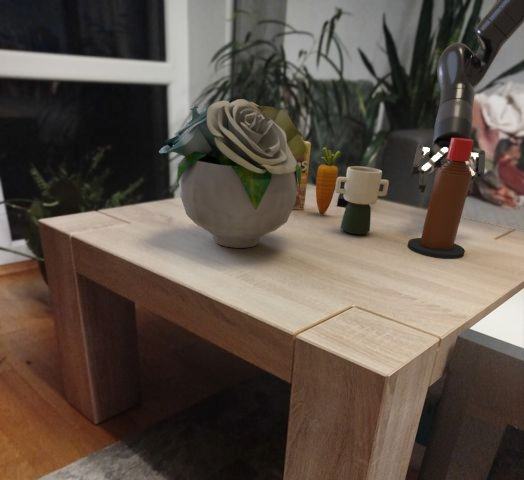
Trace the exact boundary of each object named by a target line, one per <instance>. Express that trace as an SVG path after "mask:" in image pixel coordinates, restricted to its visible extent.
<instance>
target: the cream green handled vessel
mask: <svg viewBox="0 0 524 480" xmlns="http://www.w3.org/2000/svg"><path fill="white" fill-rule="evenodd" d="M382 176H383V171H382V170H381V169H379V168H374V167H369V166H361V165H359V166H358V165H356V166H348V167H347V168H346V175H345V176H337V180H336V186H335V191H334V193H336V194H338V195H339V194H344V195H343V196H344V199H345V200H346V201H348V202H349V203H348V204H347V206H346V207H345V209H344V213H343V215H342V219H341V224H340V229H342V230H343V231H345V232H346V233H350V234H355V235H363V234H364V235H365V234H368V233H369V232H370V231H371V217H372V216H371V215H372V213H371V212H372V208H371V205H373V204H376V203H377V201H378V197H386V196H387V195H388V190H389V184H390V181H389V179H383V178H382ZM342 183H344V187H343V188H344V189H342V188H341V184H342ZM381 185H383V188H382V190H380V187H381Z"/></svg>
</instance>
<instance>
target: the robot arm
mask: <svg viewBox="0 0 524 480" xmlns="http://www.w3.org/2000/svg"><path fill="white" fill-rule="evenodd" d="M523 24H524V0H497V2H495V4H494V5H493V6H492V7H491V8H490V10H489V11H488V12H487V13H486V14H485V15H484V17H483V18H482V19H480V22H479V23H478V24H477V25H476V27H475V31H474V32H475V35H476V37H477V39H478V41H479V46H478V49H477V51H476V53H474V51H472V50H471V49H470V48H469V46H467V44H465V43H462V42H454V43H452V44H450V45H448V46H447V47H446V48H445V49H444V50H443V51H442V53H441V55H440V56H439V58H438V62H437V66H436V78H437V83H438V84H437V85H438V91H439V95H440V97H439V103H438V110H437V114H436V118H435V123H434V126H433V129H434V130H433V136H432V143H431V144H432V145H431V146H430V147H425V146H424V144H423V143H418V144H417V146H416V150H415V154H414V159H413V162H412V167H411V171H410V173H411V174H412V175H417V176H418V177H419V178H418V182H417V183H418V184H417V189H418V190H420V193H425V190H426V187H427V182H428V175H430V174H431V173H433V172H434V171H435V170H436V169H438V168H439V167H441V166H442V165H444V163H445V162H447V161H448V160H449V159H447V153H448V149H449V145H450V141H451V138H464V139H471V136H472V130H473V129H472V128H473V120H474V115H473V113H474V112H473V111H474V102H475V90H474V88H476V87H477V86H478V85H479V84H480V83H481V81H483V79H484V77H485V76H486V74H487V72H488V71H489V69H490V67H491V66H492V64H493V62H494V60H495V59H496V57H497V56H498V54H499V52H500V51H501V49H502V48H503V46H504V45H505V44H506V43H507V41H508V40H509V39H510V38H512V36H513V35H514V34H515V33H516V32H517V31H518V29H520V28H521V26H522V25H523ZM427 155H428V158H429V160H428V161H427V162H426V163H425V164H423V166H422V165H420V163H421V160H423V159H424V158H425V157H426V156H427ZM469 160H471V161H472V163H473V165H474V166H475V167H474V169H473V168H472V167H471V163H470V161H467V162H466V165H468V168H470V171H471V172H472V173H471V174H472V178H471V181H470V185H469V189H468V193H467V196H470V195H471V193H472V191H473V187H474V182H477V183H479V182H481V180H482V178H483V176H484V174H485V173H486V172H485V168H486V151H485V150H484V149H481V150H479V151H478V152H472V151H471V154H470V158H469Z"/></svg>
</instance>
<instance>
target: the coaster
mask: <svg viewBox="0 0 524 480" xmlns="http://www.w3.org/2000/svg"><path fill="white" fill-rule="evenodd" d="M420 241H421V237H415V238H414V237H413V238H410V239H408V241H407V248H408V249H409V250H411V251H413V252H414V253H416V254H420V255H423V256H426V257H431V258H436V259H459V258H462V257H463V256H465V252H466V250H465V248H464V247H463V246H461V245H459V244H457V243H455V242H454V246H453V249H451V250H436V249H431V248H427V247H425V246H423V245H421V244H420Z"/></svg>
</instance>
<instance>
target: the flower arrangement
mask: <svg viewBox="0 0 524 480" xmlns="http://www.w3.org/2000/svg"><path fill="white" fill-rule="evenodd" d="M198 109H199V106H198V105H197V104H196V103H195V104H193V107H192V108H190V111H191V119H190V120H189V121H187V122H186V124H185V125H184V126H183V127H182V128H181V129H178V130H177V131H176V132H175V133H173V134H174V137H170V138H169V139H166V140H165V141H164V143H165V144H166V145H164V146H163V147H162V148H160V150H159V151H158V153H159V154H161V155H162V154H168V153H169V154H170V153H175V154H177V155H180V156H182V157H183V158H182V159H181V160H180V161H179V162H178V163H177V169H176V170H177V171H176V185H178V184H179V187H178V188H179V196H180V200H181V203H182V206H183V208H184V211H185V214H186V216H187V217H188V218H189V219H190V220H191V221H192V222H193V223H194V224H195V225H197V227H200V228H201V229H203V230H205V231H207V232H208V233H209V234H211V237H212V240H213V241H214V242H215V243H216V244H218V245H219V246H223V247H227V248H235V249H246V248H252V247H254V246H257V245H258V244H259V242H260V240H261V238H262V237H263V236H266V235H267V234H270V233H273V232H276V231H277V230H278V229H280V228H281V227H282V226H284V225H285V224H286V223H287V222H288V220H289V219H290V215H291V214H292V211H293V210H294V209H293V207H294V204H295V202H296V195H297V187H298V184H299V189H300V184H301V175H302V168H301V167H300V166H299V165H298V164H297V161H296V160H295V158H294V157H300V156H302V155H303V154H304V153H305V152H306V150H307V148H306V145H305V142H304V141H305V140H304V139H303V133H302V131H300V130H299V129H298V128H297V127H296V126H295V124H294V123H293V121H292V119H291V117H290V115H289V114H288V112H287V110H285V109H280V110H279V109H278V108H276V107H273V106H267V105H266V106H265V105H264V106H262V105H258V104H257V103H254V102H253V101H249V100H246V99H245V98H241V99H235V100H233V99H227V100H219V101H216V102H214V103H211V104H210V105H209V106H206V108H204V109H202V110H201V111H200V112H199V111H198ZM297 178H298V182H297Z"/></svg>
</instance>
